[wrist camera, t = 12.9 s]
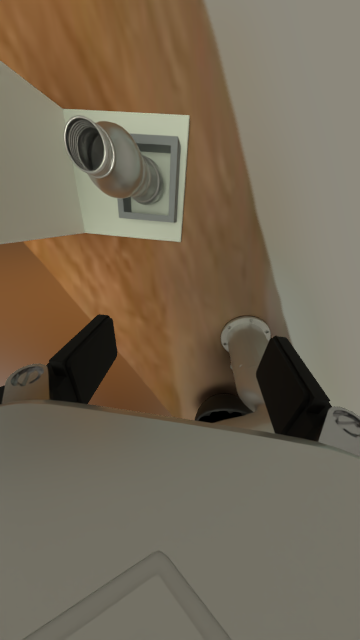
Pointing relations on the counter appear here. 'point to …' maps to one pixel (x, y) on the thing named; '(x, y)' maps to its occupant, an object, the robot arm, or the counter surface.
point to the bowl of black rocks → (221, 408)
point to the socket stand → (80, 171)
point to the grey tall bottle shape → (112, 160)
